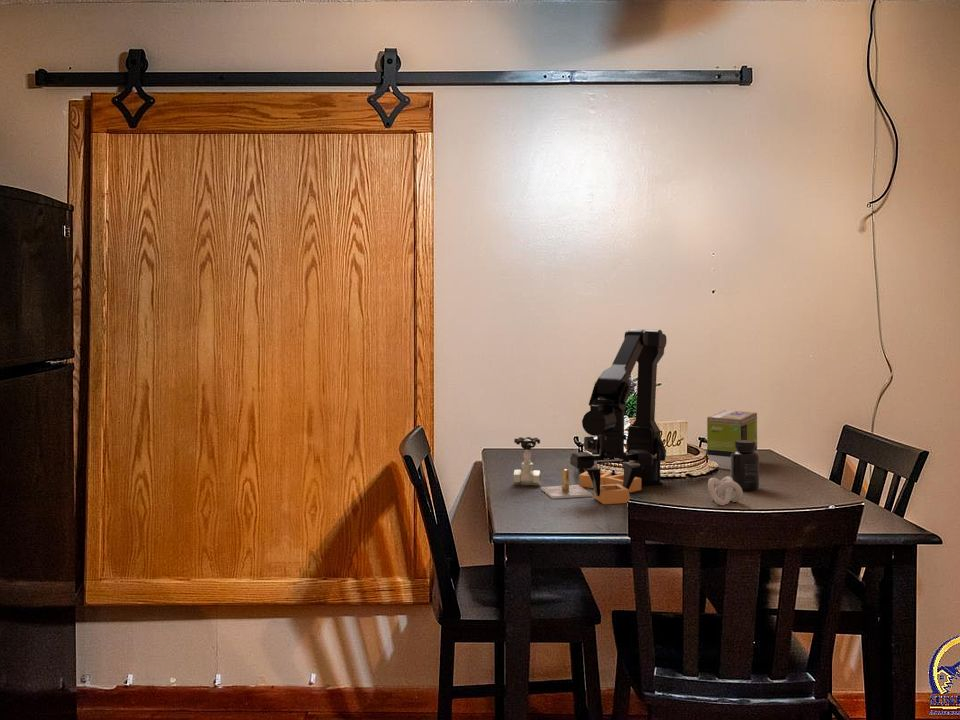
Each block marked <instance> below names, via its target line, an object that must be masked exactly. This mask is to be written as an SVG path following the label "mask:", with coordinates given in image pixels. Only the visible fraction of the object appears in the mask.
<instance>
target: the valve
mask: <svg viewBox="0 0 960 720" xmlns="http://www.w3.org/2000/svg"><path fill="white" fill-rule="evenodd" d="M513 442H514V443H515V444H516V445H520V447H521V448H522V449H523V450H525V451H524V452H523V459H524V460H523V462H521V463H520V464H521V465H520V466H521V468H522V469H514V471H513V483H514V485H523V486H526V487H528V486H529V487H530V486H532V485H534V486H540V485H541V481H542V473H541V471H540V470H538V469H537V470H533V468H534V463H533V462H532V460H531V459H532V454H531V452H530V450H532V449H533V448H535V447H536V444H541V439H540V438H538V437H531V436H526V437H518V438H514V441H513Z"/></svg>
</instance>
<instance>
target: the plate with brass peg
mask: <svg viewBox="0 0 960 720" xmlns="http://www.w3.org/2000/svg"><path fill="white" fill-rule="evenodd" d="M539 490H540V491H542V492H543V493H544V492H545V493H544V494H545V495H547V496H548V497H549V498H551V499H552V500H555V499H556V500H557V499H570V498H571V499H572V498H573V499H574V498H590V497H593V493H591V492H590V491H588V490H587V489H586V488H585V487H581V486H579V484H571V485H570V470H569V469H568V468H564V469H563V470H562V471H561V485H554V486H553V485H551V486H540V488H539Z"/></svg>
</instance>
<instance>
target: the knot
mask: <svg viewBox="0 0 960 720" xmlns="http://www.w3.org/2000/svg"><path fill="white" fill-rule="evenodd" d="M715 486H716V487H715ZM733 488H734V489H733ZM707 491H708V493H709V496H710V498H711V501H713V500H714V501H713V502H714V503H716V504H717V505H718V504H727V505H728V504H729V503H731V502H730V501H734V502H737V503H739V502H741V501H742V499H743V498H744V491H742V488H741V487H740V485H739V484H737V483H736V482H734V481H733V479H732V478H731V476H729V475H728V476H725V477H723V478H721V480H720V479H718V478H716V477H711V478H709V480H708V481H707ZM734 491H735V492H736V494H735V496H734V495H733V493H734ZM721 496H723V499H722V498H721Z"/></svg>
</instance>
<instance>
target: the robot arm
mask: <svg viewBox="0 0 960 720" xmlns="http://www.w3.org/2000/svg"><path fill="white" fill-rule="evenodd" d="M667 342H668V341H667V335H666V334H665V333H664V332H663V331H662V330H661V329H647V328H646V329H639V328H638V329H628V330H626V331H625V332H624V340H623V342H622V344H621V345H620V347H619V350H618V352H617V354H616V356H615V357H614V360H613V361H612V364H611V366H610V367H608V368H606V369H605V370H603V371H602V372H601V374H600V375H598V377H597V379H596V381H595V382H594V384H593V385H594V386H593V389H592V392H591V395H590V397H589V402H588V406H589V409H590V410H589V411H587V412H586V413H585V414H584V415H583V417H582V420H581V424H582V429H583V430H584V431H585V432H586V434H587V435H589V436H584V437H583V447H584V451H581V452H573V453H571V456H569V457H570V459H569V461H570V462H569V463H570V465H571V466H572V467H574V468H576V469H579V470H582V469H583V470H584V471H585V472H586V471H587V472H588V474H589V476H590V478H591V481H592V484H593V487H594V488H593V491H594V490H595V493H596V495H597V496H599V495H600V471H601V469H600V468H599V467H598V464H599V465H600V464H615V463H621V464H622V468H623V474H624V477H623V487H625V488H627V489H629V488H630V486H631V483H632V481H633V479H634V478H635V477H638V478H641V486H644V485H645V486H649V485H661V484H664V481H663V480H661V462H663V461H666V457H667V449H666V447H665V445H664V442H663V440H662V438H661V437H662V436H661V429H660V427H659V426H658V424H657V423H656V421H655V417H656V394H657V391H656V390H657V370H658V363H660V360H661V359H662V358H663V356H664V355H665V348H666V346H667ZM636 364H637V383H636V405H635V406H636V407H635V420H634V421H633V422H632V424H631V425H630V426H628V428H627V435H626V434H625V409H627V405H626V404H627V401H628V398H629V396H630V394H631V389H632V388H631V387H632V386H631V382H630V377H631V374H632V372H633V369H634V368H635V365H636ZM594 437H597V438H594ZM625 441H626V445H625ZM625 446H626V452H625ZM587 451H591V454H590V453H588V452H587Z"/></svg>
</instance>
